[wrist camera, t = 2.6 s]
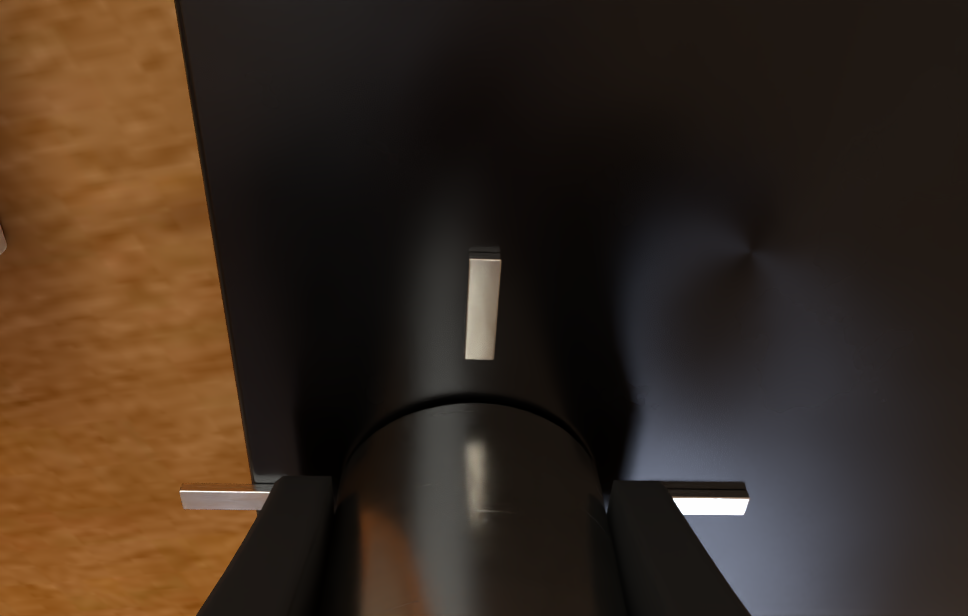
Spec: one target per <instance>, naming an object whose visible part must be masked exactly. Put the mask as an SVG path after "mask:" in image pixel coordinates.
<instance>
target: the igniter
mask: <svg viewBox="0 0 968 616" xmlns="http://www.w3.org/2000/svg"><path fill="white" fill-rule="evenodd" d="M6 248H7V243H6V240H5V237H4V234H3V231H2V228H1V225H0V255H1V254H2V253H3V252H4V251H5V250H6Z"/></svg>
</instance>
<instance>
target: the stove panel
mask: <svg viewBox="0 0 968 616" xmlns="http://www.w3.org/2000/svg"><path fill="white" fill-rule="evenodd" d="M174 3H175V9H176V15H177V21H178V28H179V34H180V40H181V46H182V52H183V59H184V65H185V71H186V77H187V83H188V90H189V96H190V102H191V108H192V114H193V121H194V127H195V133H196V139H197V145H198V152H199V158H200V164H201V170H202V176H203V183H204V189H205V195H206V201H207V207H208V214H209V220H210V226H211V232H212V238H213V245H214V251H215V257H216V263H217V269H218V276H219V282H220V288H221V294H222V300H223V307H224V313H225V319H226V325H227V331H228V338H229V344H230V350H231V356H232V362H233V369H234V375H235V381H236V387H237V393H238V400H239V406H240V412H241V418H242V424H243V431H244V437H245V443H246V449H247V455H248V462H249V468H250V474H251V480H252V484H218V483H182V485H181V488H180V490H179V493H180V497H181V502H182V506H183V509H214V510H256V511H257V516H258V514H259V512H260V510H261V509H262V507H263V505H264V503H265V501H266V499H267V497H268V495H269V493H270V491H271V489H272V487H273V485H274V483H275V481H277V480H278V479H279V478H281V477H282V476H283V475H286V476H331V477H332V489H333V502H334V514H335V508H336V501H337V495H338V489H339V484H340V480H341V476H342V474H343V472H344V469H345V467H346V465H347V463H348V462H349V460H350V459H351V457H352V455H353V454H354V453H355V452H356V450H357V449H358V448H359V447H360V446H361V445H362V444H363V443H364V441H365V440H367V439H368V438H369V437H370V436H371V435H372V434H374V433H375V432H376V431H377V430H379V429H380V428H382V427H384V426H385V425H387V424H388V423H390V422H392V421H394V420H396V419H398V418H400V417H402V416H404V415H407V414H410V413H412V412H415V411H418V410H421V409H425V408H429V407H433V406H437V405H443V404H451V403H462V402H482V403H495V404H501V405H507V406H512V407H516V408H520V409H523V410H527V411H530V412H532V413H535V414H537V415H540V416H542V417H544V418H546V419H548V420H550V421H552V422H553V423H555V424H557V425H559V426H560V427H561V428H563V429H564V430H565V431H567V432H568V433H569V434H571V435H572V436H573V437H574V438H575V439H576V440H577V441H578V442H579V443H580V444H581V445H582V447H583V448H584V449H585V451H586V452H587V453H588V455H589V456H590V457H591V459H592V461H593V463H594V465H595V467H596V470H597V473H598V477H599V480H600V485H601V490H602V495H603V499H604V504H605V509H606V514H607V509H608V504H609V499H610V495H611V490H612V485H613V480H643V481H660V482H661V483H662V484H663V485H664V486H665V487H666V488H667V489H668V491H669V493H670V494H671V496H672V498H673V499H674V501H675V503H676V504H677V506H678V507H679V509H680V511H681V512H682V514H683V515H684V517H685V519H686V520H687V522H688V523H689V525H690V526H691V528H692V529H693V531H694V533H695V534H696V536H697V537H698V539H699V540H700V542H701V543H702V545H703V546H704V548H705V549H706V551H707V552H708V554H709V555H710V557H711V558H712V560H713V561H714V563H715V564H716V566H717V567H718V569H719V570H720V572H721V573H722V575H723V576H724V578H725V579H726V580H727V582H728V583H729V585H730V586H731V588H732V589H733V591H734V592H735V593H736V595H737V596H738V598H739V599H740V600H741V602H742V603H743V604H744V606H745V607H746V609H747V610H748V611H749V613H750V614H751V615H752V616H968V0H174Z"/></svg>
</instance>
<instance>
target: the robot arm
mask: <svg viewBox="0 0 968 616" xmlns="http://www.w3.org/2000/svg"><path fill="white" fill-rule="evenodd" d="M607 519H608V523H609V528H610V533H611V538H612V542H613V547H614V552H615V557H616V562H617V566H618V571H619V576H620V581H621V586H622V590H623V595H624V600H625V605H626V609H627V614H628V616H752V615H751V614H750V613H749V611H748V610H747V609H746V607H745V606H744V604H743V603H742V602H741V600H740V599H739V598H738V596H737V595H736V593H735V592H734V591H733V589H732V588H731V586H730V585H729V583H728V582H727V580H726V579H725V578H724V576H723V575H722V573H721V572H720V570H719V569H718V567H717V566H716V564H715V563H714V561H713V560H712V558H711V557H710V555H709V554H708V552H707V551H706V549H705V548H704V546H703V545H702V543H701V542H700V540H699V539H698V537H697V536H696V534H695V533H694V531H693V529H692V528H691V526H690V525H689V523H688V522H687V520H686V519H685V517H684V515H683V514H682V512H681V511H680V509H679V507H678V506H677V504H676V503H675V501H674V499H673V498H672V496H671V494H670V493H669V491H668V489H667V488H666V487H665V486H664V485H663V484H662V483H661V482H660V481H643V480H613V485H612V490H611V495H610V499H609V504H608V509H607ZM333 521H334V502H333V489H332V477H331V476H286V475H283V476H282V477H281V478H279V479H278V480H277V481H275V483H274V485H273V487H272V489H271V491H270V493H269V495H268V497H267V499H266V501H265V503H264V505H263V507H262V509H261V510H260V512H259V514H258V516H257V518H256V520H255V521H254V523H253V525H252V527H251V528H250V530H249V532H248V534H247V535H246V537H245V539H244V541H243V542H242V544H241V546H240V547H239V549H238V551H237V552H236V554H235V556H234V557H233V559H232V560H231V562H230V564H229V565H228V567H227V569H226V570H225V572H224V574H223V575H222V577H221V578H220V580H219V581H218V583H217V584H216V586H215V587H214V589H213V590H212V592H211V593H210V595H209V597H208V598H207V600H206V601H205V603H204V604H203V606H202V607H201V609H200V610H199V612H198V613H197V615H196V616H318V613H319V607H320V600H321V594H322V588H323V583H324V577H325V571H326V564H327V558H328V552H329V546H330V540H331V533H332V527H333Z"/></svg>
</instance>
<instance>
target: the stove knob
mask: <svg viewBox="0 0 968 616" xmlns="http://www.w3.org/2000/svg"><path fill="white" fill-rule="evenodd" d="M318 616H628V614H627V609H626V605H625V600H624V595H623V590H622V586H621V581H620V576H619V571H618V566H617V562H616V557H615V552H614V547H613V542H612V538H611V533H610V528H609V523H608V519H607V514H606V509H605V504H604V499H603V495H602V490H601V485H600V480H599V477H598V473H597V470H596V467H595V465H594V463H593V461H592V459H591V457H590V456H589V455H588V453H587V452H586V451H585V449H584V448H583V447H582V445H581V444H580V443H579V442H578V441H577V440H576V439H575V438H574V437H573V436H572V435H571V434H569V433H568V432H567V431H565V430H564V429H563V428H561V427H560V426H559V425H557V424H555V423H553V422H552V421H550V420H548V419H546V418H544V417H542V416H540V415H537V414H535V413H532V412H530V411H527V410H523V409H520V408H516V407H512V406H507V405H501V404H495V403H482V402H462V403H451V404H443V405H437V406H433V407H429V408H425V409H421V410H418V411H415V412H412V413H410V414H407V415H404V416H402V417H400V418H398V419H396V420H394V421H392V422H390V423H388V424H387V425H385V426H384V427H382V428H380V429H379V430H377V431H376V432H375V433H374V434H372V435H371V436H370V437H369V438H368V439H367V440H365V441H364V443H363V444H362V445H361V446H360V447H359V448H358V449H357V450H356V452H355V453H354V454H353V455H352V457H351V459H350V460H349V462H348V463H347V465H346V467H345V469H344V472H343V474H342V476H341V480H340V484H339V489H338V495H337V501H336V508H335V514H334V521H333V527H332V533H331V540H330V546H329V552H328V558H327V564H326V571H325V577H324V583H323V588H322V594H321V600H320V607H319V613H318Z"/></svg>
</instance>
